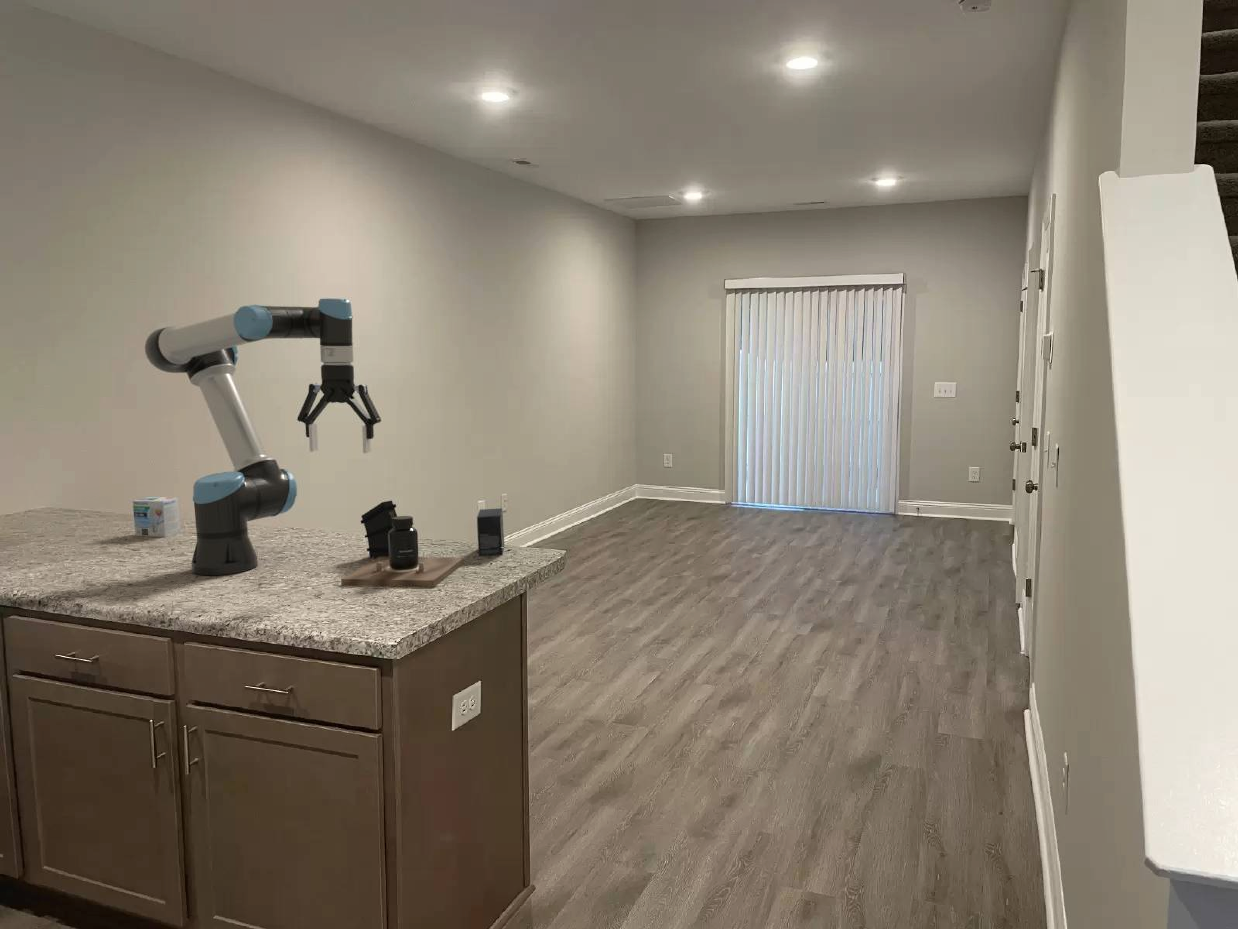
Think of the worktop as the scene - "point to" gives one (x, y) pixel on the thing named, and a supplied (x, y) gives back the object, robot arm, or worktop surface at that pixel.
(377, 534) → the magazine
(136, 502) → the light bulb box
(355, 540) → the worktop surface
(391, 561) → the supplement bottle
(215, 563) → the robot arm
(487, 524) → the small box
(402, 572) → the board
